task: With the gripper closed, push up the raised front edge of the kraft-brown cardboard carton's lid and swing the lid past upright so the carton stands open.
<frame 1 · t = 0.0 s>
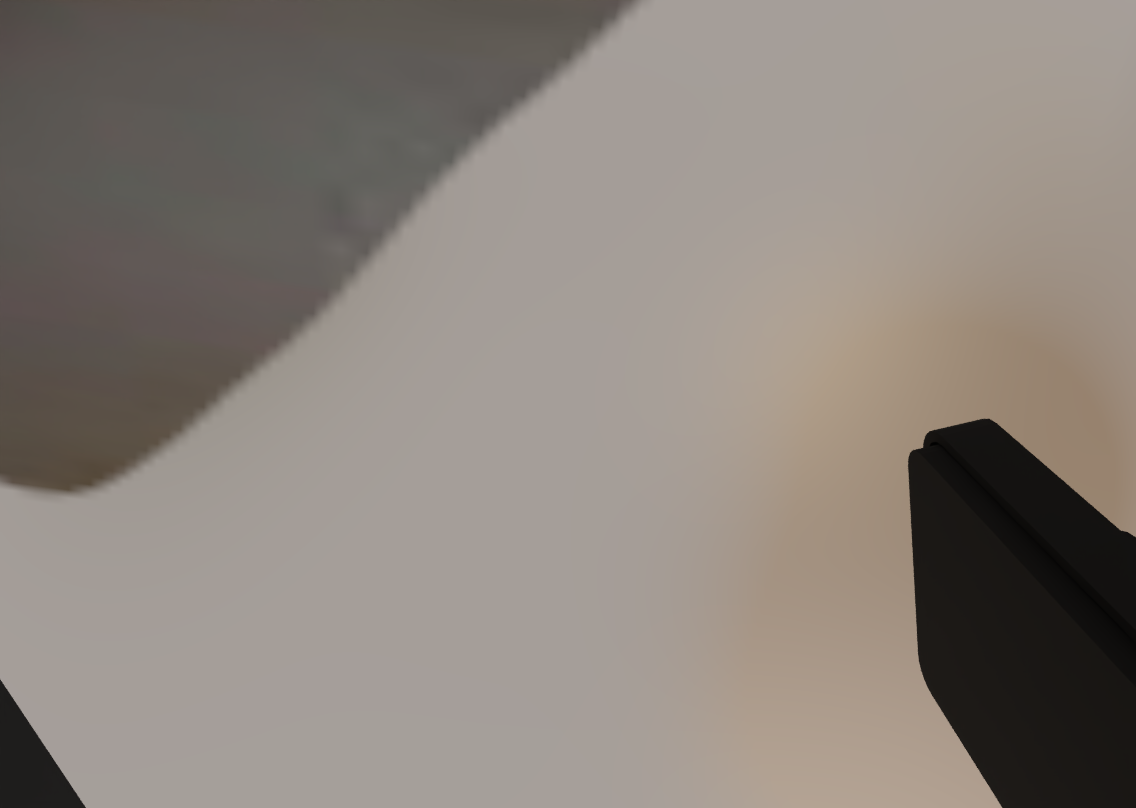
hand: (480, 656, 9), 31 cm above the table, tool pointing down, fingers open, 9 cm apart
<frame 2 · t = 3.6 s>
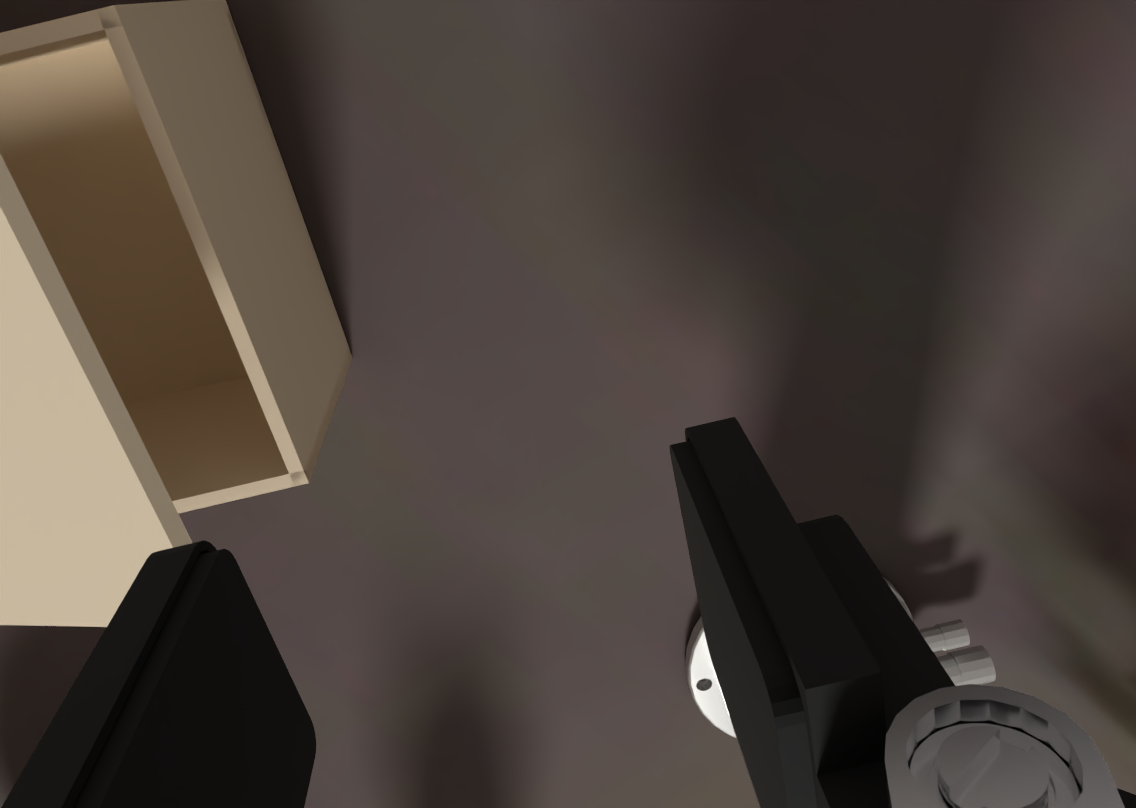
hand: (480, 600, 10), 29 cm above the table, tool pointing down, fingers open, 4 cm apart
carton: (83, 244, 37), on the table
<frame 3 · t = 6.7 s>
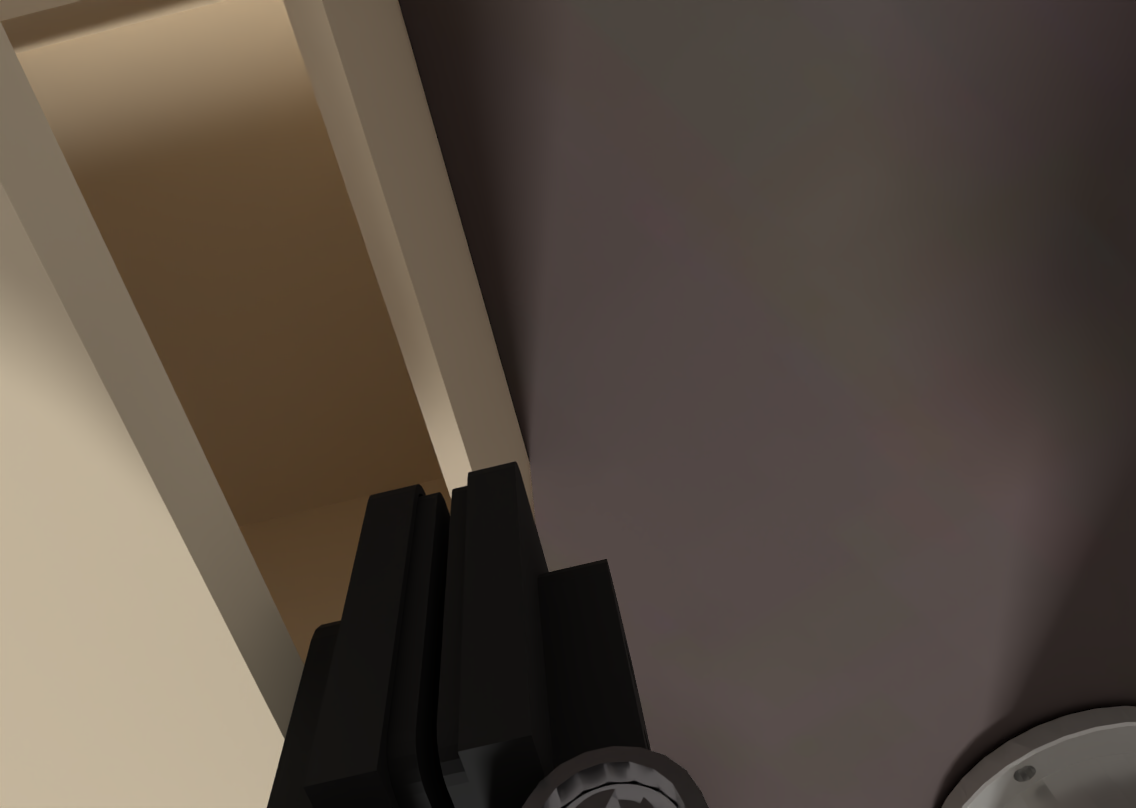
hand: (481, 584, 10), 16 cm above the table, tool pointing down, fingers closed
carton: (153, 312, 25), on the table
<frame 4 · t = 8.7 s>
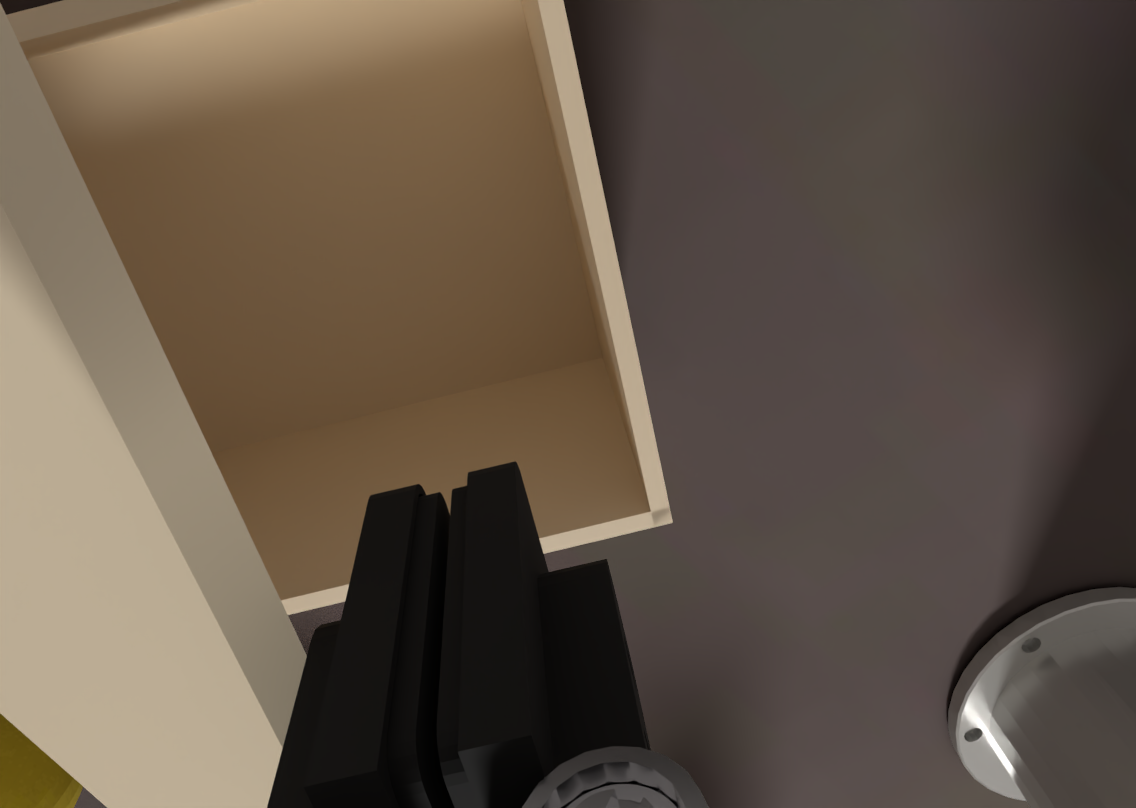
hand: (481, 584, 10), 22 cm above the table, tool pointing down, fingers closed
carton: (315, 227, 30), on the table
lemon: (49, 705, 38), on the table
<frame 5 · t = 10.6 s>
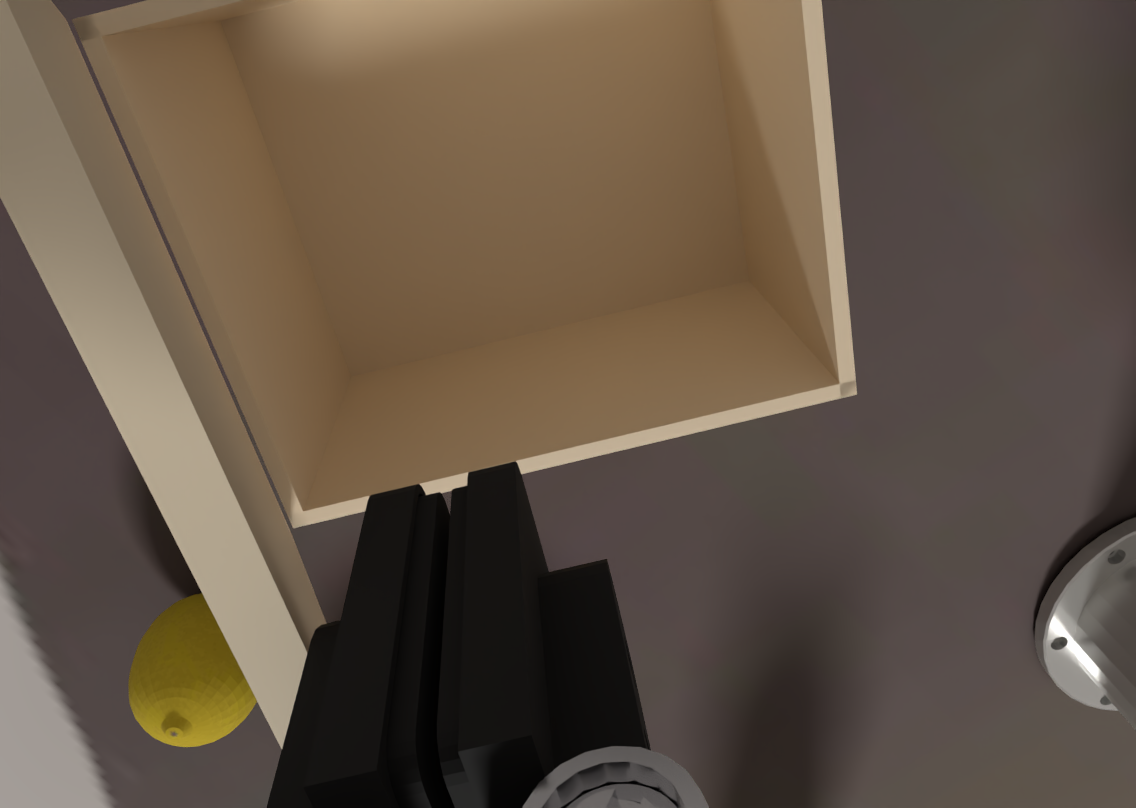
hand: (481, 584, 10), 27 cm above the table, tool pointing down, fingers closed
carton: (506, 159, 34), on the table
carton lid: (214, 423, 17), point 20 cm above the table, hinge at 68.2°, touching gripper
lemon: (228, 603, 42), on the table
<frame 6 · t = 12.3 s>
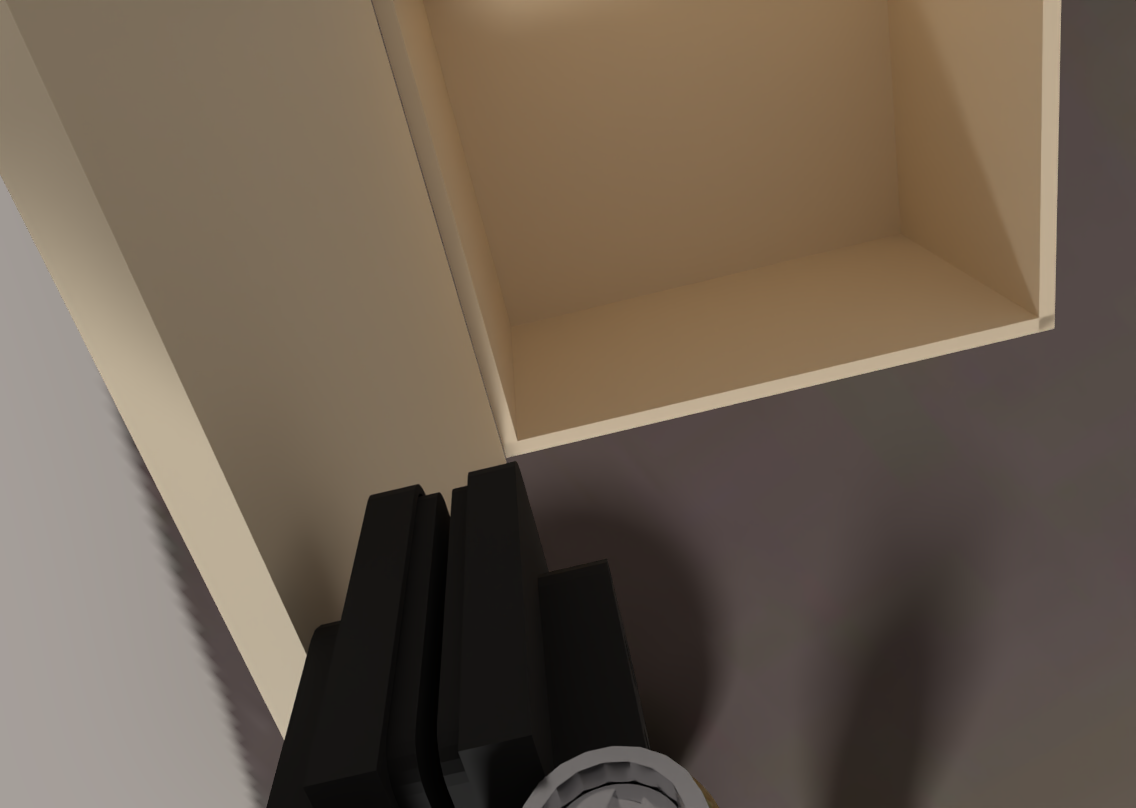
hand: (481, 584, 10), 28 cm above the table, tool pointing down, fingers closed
carton: (675, 111, 35), on the table
carton lid: (396, 364, 17), point 20 cm above the table, hinge at 90.7°, touching gripper
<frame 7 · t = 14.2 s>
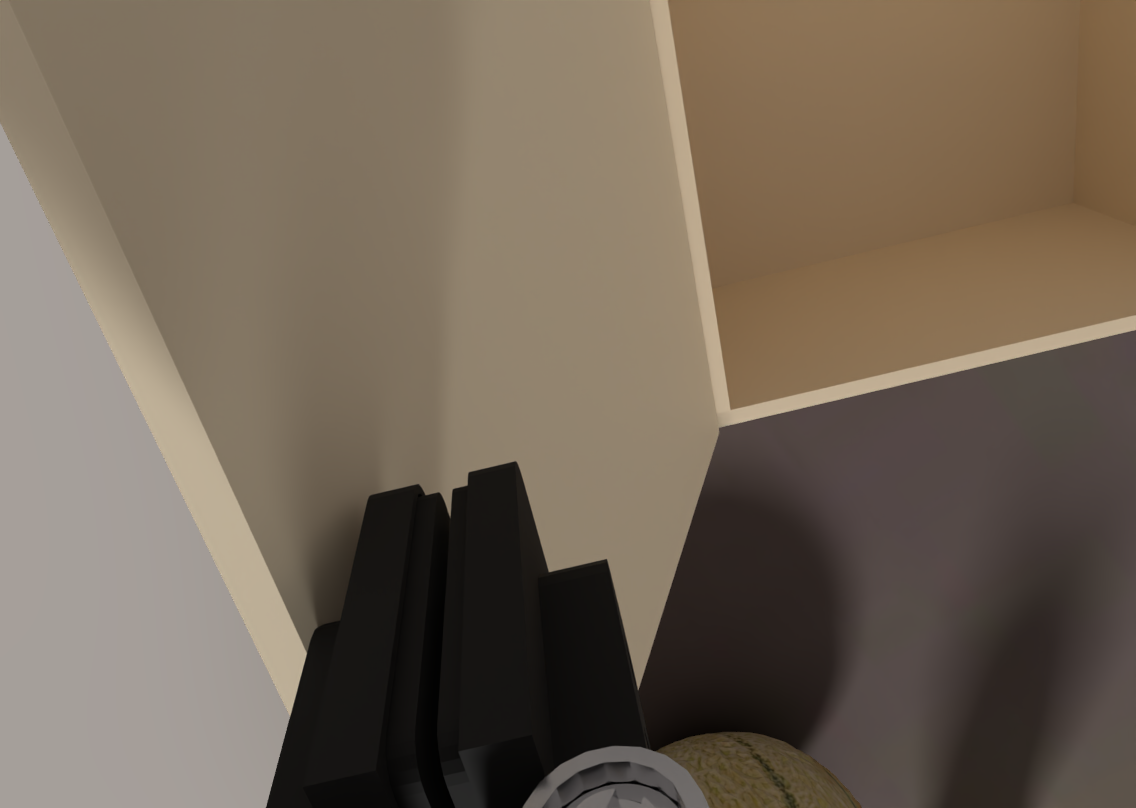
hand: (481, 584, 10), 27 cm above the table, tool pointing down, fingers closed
carton: (852, 72, 34), on the table
cantaloupe: (703, 769, 49), on the table
carton lid: (569, 333, 16), point 19 cm above the table, hinge at 112.9°, touching gripper
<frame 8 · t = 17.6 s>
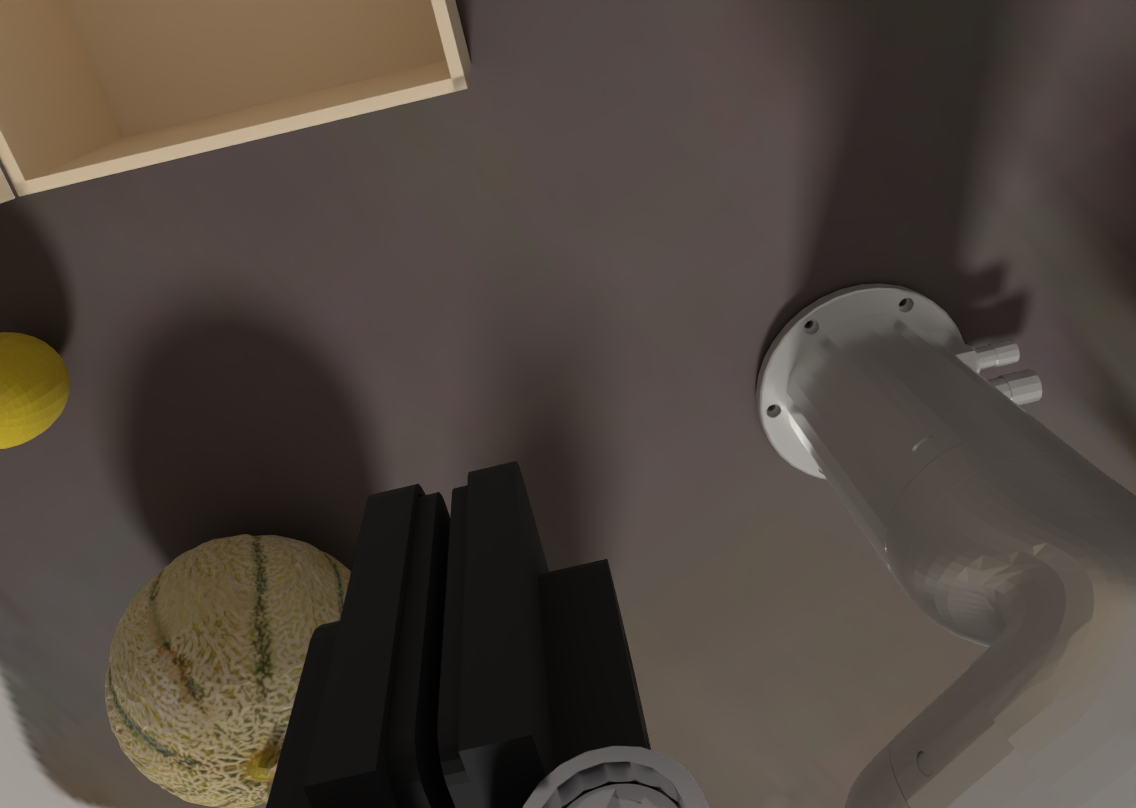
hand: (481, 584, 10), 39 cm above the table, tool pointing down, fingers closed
cantaloupe: (279, 584, 57), on the table
lemon: (41, 357, 49), on the table
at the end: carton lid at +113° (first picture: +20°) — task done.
